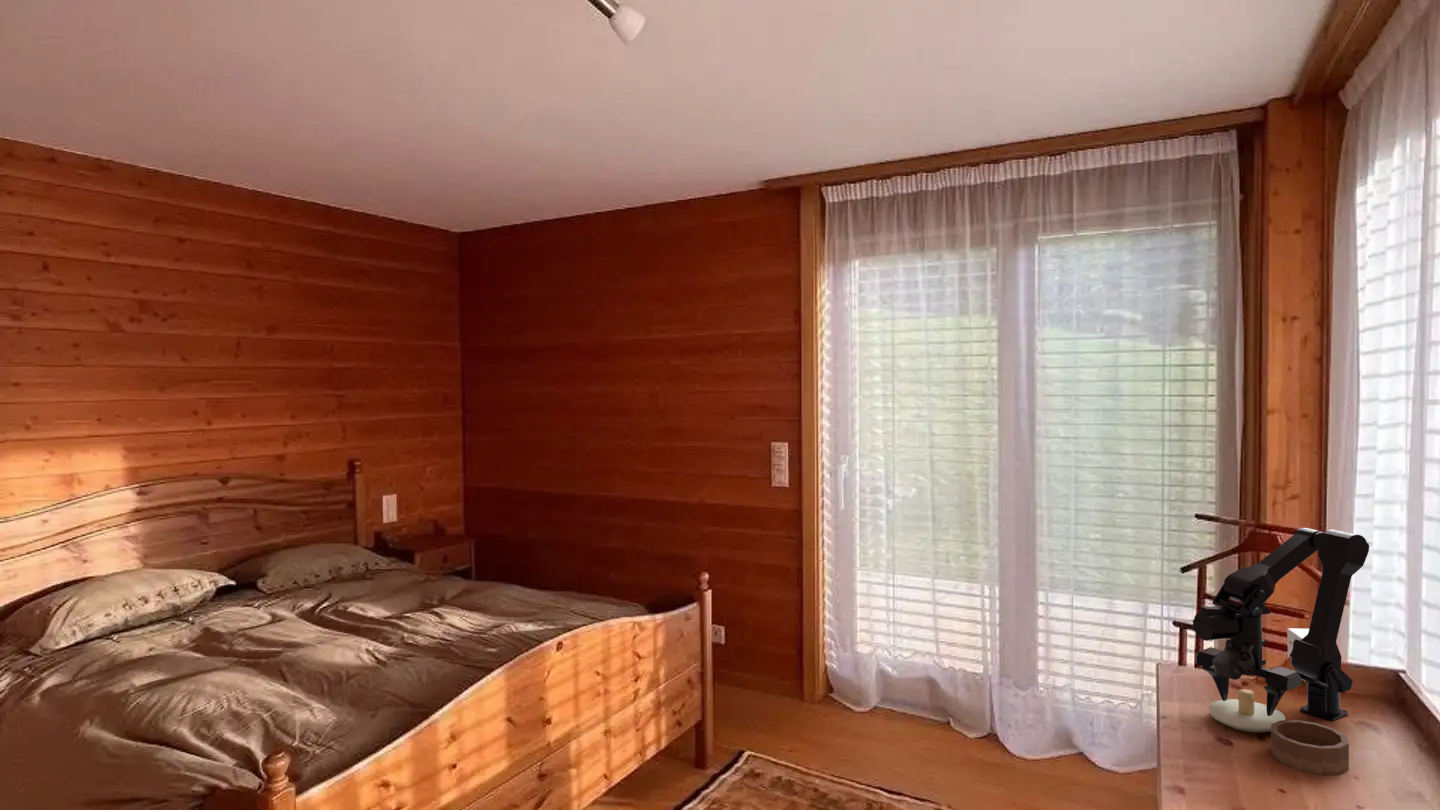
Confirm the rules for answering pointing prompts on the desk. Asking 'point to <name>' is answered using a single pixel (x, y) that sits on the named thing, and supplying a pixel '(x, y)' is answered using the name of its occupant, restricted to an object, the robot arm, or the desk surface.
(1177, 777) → the desk surface
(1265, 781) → the desk surface
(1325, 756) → the box
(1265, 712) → the lid
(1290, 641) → the small box
